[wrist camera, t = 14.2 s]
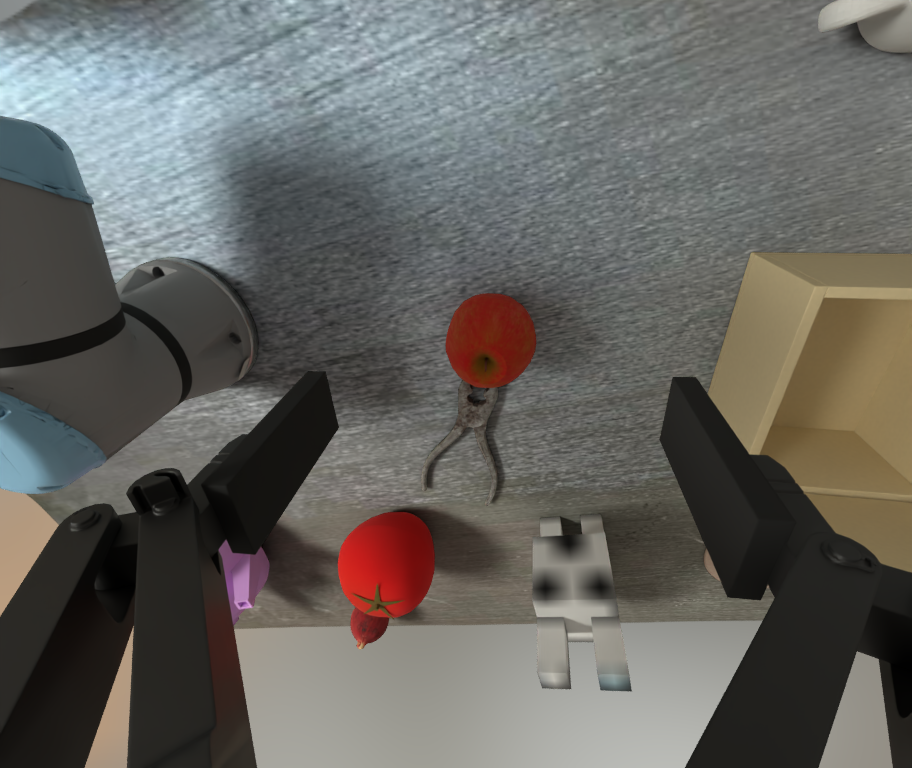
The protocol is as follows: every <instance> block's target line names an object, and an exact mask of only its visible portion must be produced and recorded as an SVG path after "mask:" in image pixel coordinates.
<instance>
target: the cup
mask: <svg viewBox="0 0 912 768" xmlns="http://www.w3.org/2000/svg"><path fill="white" fill-rule="evenodd" d="M855 22H857V24H858V28H859V31H860V33H861V35H862V36H863V38H864V39H865V40H866V42H867V43H869V44H870V45H871V46H873V47H875V48H876V49H879V50H882V51H886V52H893V53H907V52H912V0H837V1H835V2H832V3H831V4H829V5H827V6H825V7H824V8H823V9H822V10H821V12H820V15H819V20H818V29H819V31H820V32H822V33H824V32H828V31H831V30H835V29H838V28H840V27H843V26H846V25H849V24H852V23H855Z"/></svg>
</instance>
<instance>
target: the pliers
mask: <svg viewBox="0 0 912 768" xmlns="http://www.w3.org/2000/svg"><path fill="white" fill-rule="evenodd" d="M472 392H473V385H471V384H469V383H467V382H465V381H464V380H462V382H461V384H460V387H459V389H458V418H457V421H456V424H455V426H454V428H453V429H452V431H451V432H450V433H449V434H448V435H447V436H446V437H445V438H444V439H443V440H442V441H441V442H440V443H439V444H438V445H437V446H436V447H435V448H434V449H433V450H432V452H431V453H430V454H429V455H428V457H427V459H426V461H425V464H424V466H423V470H422V474H421V486H422V490H423V491H425V490H426V489H427V481H426V479H427V472H428V469H429V466H430V464H431V463H432V461H433V460H434V459H435V458H436V457H437V456H438V455H439V454H440V453H441V452H442V451H444V450H445V449H446V448H447V447H448V446H450V445H451V444H452V443H453V442H455V441H456V440H457V439H458V438H459V437H460V435H461V434H462V433H463V432H464V431H465V429H466V428H467V427H472V428H473V429H474V431H475V436H476V439H477V443H478V445H479V448H480V450H481V452H482V454H483V456H484V458H485V460H486V462H487V465H488V467H489V469H490V472H491V477H492V485H491V490H490V493H489V495H488V497H487V499H486V501H485V505H486V506H488V505H489V504H490V503H491V501H492V499H493V498H494V495H495V492H496V488H497V481H498V474H497V468H496V464H495V461H494V459H493V456H492V453H491V451H490V448H489V445H488V442H487V438H486V426H487V420H488V418H489V416H490V414H491V412H492V409H493V407H494V405H495V403H496V401H497V398H498V387H495V388H486V389H485V391H484V395H483V396H484V397H485V398H486V400H484V401H479V403H476V402H474V399H472V398H470V397H469V394H472Z"/></svg>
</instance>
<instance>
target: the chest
mask: <svg viewBox="0 0 912 768" xmlns="http://www.w3.org/2000/svg"><path fill="white" fill-rule="evenodd" d="M708 395H709V397H710V398H711V400H712V401H713V402H714V404H715V405H716V407H717V408H718V410H719V411H720V413H721V414H722V415H723V417H724V418H725V420H726V421H727V423H728V424H729V425H730V427H731V428H732V430H733V431H734V433H735V434H736V436H737V437H738V438H739V440H740V441H741V443H742V444H743V446H744V447H745V448H746V450H747V451H748V453H749V454H753V455H768V456H770V457H771V458H773V459H774V460H775V461H777V462H778V463H780V464H781V465H782V466H784V467H785V468H786V469H787V471H788V472H789V473H790V475H791V476H792V477H793V478H794V480H795V483H797V484H798V485H799V486H800V488H801V489H802V490H803V491H804V494H814V495H826V496H838V497H849V498H861V499H873V500H884V501H896V502H908V503H912V254H869V253H771V252H752V253H751V254H750V258H749V261H748V264H747V267H746V271H745V274H744V277H743V280H742V284H741V287H740V290H739V293H738V297H737V300H736V303H735V306H734V310H733V313H732V316H731V319H730V323H729V326H728V329H727V332H726V336H725V339H724V342H723V345H722V349H721V352H720V355H719V358H718V362H717V365H716V368H715V371H714V375H713V378H712V381H711V384H710V388H709V391H708Z"/></svg>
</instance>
